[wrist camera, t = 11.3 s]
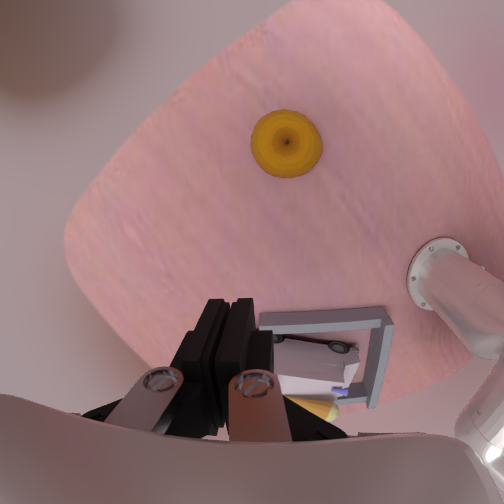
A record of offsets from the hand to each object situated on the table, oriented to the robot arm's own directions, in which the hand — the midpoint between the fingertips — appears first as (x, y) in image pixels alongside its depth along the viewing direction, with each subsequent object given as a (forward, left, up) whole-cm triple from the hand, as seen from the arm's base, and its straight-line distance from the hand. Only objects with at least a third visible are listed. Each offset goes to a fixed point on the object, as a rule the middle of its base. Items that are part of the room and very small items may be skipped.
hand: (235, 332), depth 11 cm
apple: (-3, -8, -32) cm, 34 cm away
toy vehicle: (-4, +25, -32) cm, 41 cm away
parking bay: (-8, +26, -32) cm, 42 cm away
